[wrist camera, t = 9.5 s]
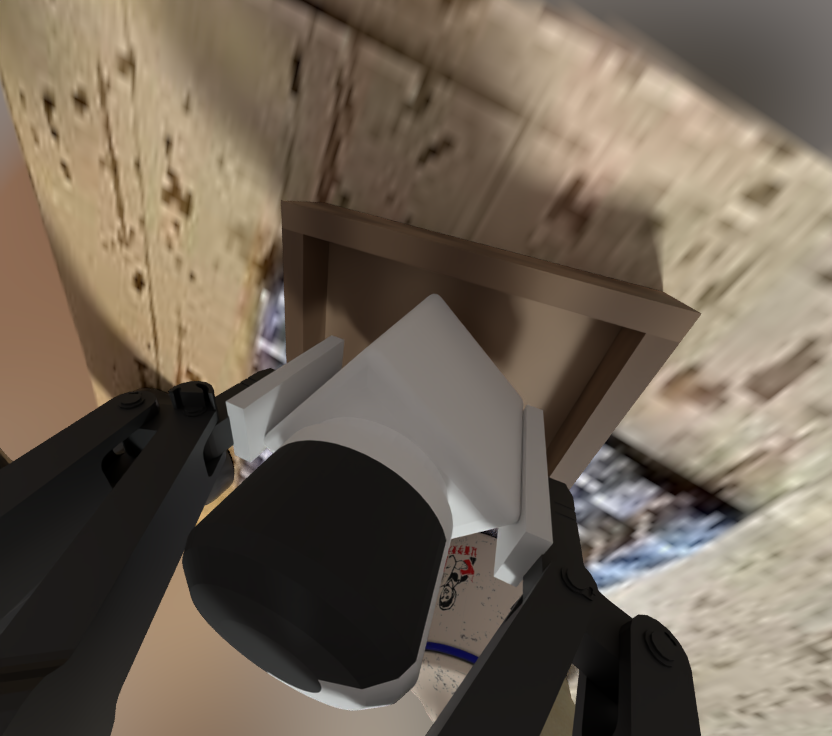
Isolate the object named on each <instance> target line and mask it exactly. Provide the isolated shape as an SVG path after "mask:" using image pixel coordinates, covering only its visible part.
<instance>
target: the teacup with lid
mask: <svg viewBox="0 0 832 736" xmlns="http://www.w3.org/2000/svg"><path fill="white" fill-rule="evenodd" d="M496 546H497V539H496V538H494V537H492V536H489V535H486V534H483V533H479V532H478V533H473V534H469V535H465V536H461V537H457V538H453V539H451V542H450V546H449V550H448V555H447V559H446V563H445V567H444V571H443V576H442V580H441V584H440V588H439V593H438V597H437V601H436V605H435V609H434V614H433V618H432V622H431V626H430V631H429V635H428V639H427V643H426V647H425V652H424V656H423V660H422V664H421V669H420V673H419V677H418V680H417V682H416V684H415V686H414V687H413V688H412V689H410V690H411V691H412V692H413V693H414V694H415V695H416V696H417V697H418V698H419V699H420V700H421V702H422V704H423V706H424V708H425V710H426V712H427V714H428V716H429V717H430V719H431V720H432V721H433V722H435V721H436V719H437V718H438V716H439V715H440V713H441V712H442V710H443V709H444V707H445V706H446V705H447V703H448V702H449V700H450V699H451V697H452V696H453V694H454V693H455V691H456V690H457V688H458V687H459V686H460V684H461V683H462V681H463V680H464V678H465V677H466V675H467V674H468V672H469V671H470V669H471V668H472V666H473V665H474V664H475V662H476V661H477V659H478V658H479V656H480V655H481V653H482V652H483V650H484V649H485V647H486V646H487V644H488V643H489V642H490V640H491V639H492V637H493V636H494V634H495V633H496V631H497V630H498V628H499V627H500V625H501V624H502V623H503V621H504V620H505V618H506V617H507V615H508V614H509V612H510V611H511V609H510V608H511V607H512V606H513V605H514V604H515V602H516V601H517V600H518V599H519V598H520V597H521V596H522V594H523V580H522V581H521V582H520V583H519V585H518V586H517V587H515V586H513V585H510V584H508V583H506V582H504V581H502V580H500V579H498V578H496V577H494V567H495V557H496Z"/></svg>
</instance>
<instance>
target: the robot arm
mask: <svg viewBox="0 0 832 736" xmlns="http://www.w3.org/2000/svg"><path fill="white" fill-rule="evenodd" d="M343 350H344V339H341V338H338V337H335V336H332V335H331V336H330V337H328V338H327V339H325V340H323V341H322V342H320V343H319V344H317V345H315V346H314V347H312V348H311V349H309V350H307V351H306V352H304V353H303V354H301V355H299V356H298V357H296V358H295V359H293V360H291V361H290V362H288V363H287V364H285V365H283V366H282V367H280V368H278V369H277V370H274V369H271V368H269V369H266V370H262V371H259V372H257V373H255V374H253V375H252V376H250V377H248V379H245V380H243V381H241V382H240V384H239V383H238V384H236V385H235V386H233V387H231V388H230V389H228V390H226V391H224V392H223V393H221V394H219V395H218V396H216V397H215V394H214V389H213V387H212V385H210V384H208V383H207V382H201V381H190V382H186V383H181V384H179V385H177V386H174V387H173V388H172V389H170V390H169V391H168V392H169V394H167V393H165V392H162V391H159V390H156V389H151V388H141V389H138V390H136V391H133V392H128V393H124V394H121V395H119V396H117V397H115V398H113V399H111V400H109V401H108V402H106V403H105V404H103V405H102V406H100V407H98V408H97V409H95V410H94V411H92V412H90V413H89V414H87V415H86V416H84V417H83V418H81V419H79V420H78V421H76V422H75V423H73V424H72V425H70V426H68V427H67V428H65V429H64V430H62V431H60V432H59V433H57V434H56V435H54V436H53V437H51V438H49V439H48V440H46V441H45V442H43V443H42V444H40V445H38V446H37V447H35V448H34V449H32V450H30V451H29V452H27V453H26V454H24V455H23V456H21V457H20V458H18V459H16V460H15V461H12V460H11V459H10V458H9V457H8V456H7V455H6V454H5V453H4V452H3V451H2V449H1V448H0V736H110V735H111V731H112V728H113V724H114V720H115V710H116V703H117V699H118V696H119V693H120V691H121V688H122V686H123V684H124V682H125V679H126V677H127V675H128V673H129V670H130V668H131V666H132V664H133V662H134V659H135V657H136V655H137V653H138V651H139V649H140V646H141V644H142V642H143V640H144V638H145V635H146V633H147V631H148V629H149V627H150V624H151V622H152V620H153V618H154V616H155V613H156V611H157V609H158V607H159V604H160V602H161V600H162V598H163V596H164V594H165V591H166V589H167V587H168V585H169V582H170V580H171V578H172V576H173V574H174V572H175V569H176V567H177V565H178V563H179V561H180V558H181V556H182V554H183V552H184V550H185V546H186V542H187V538H188V535H189V533H190V531H191V530H192V529H193V528H194V527H195V525H196V523H197V521H198V519H199V517H200V514H201V512H202V510H203V508H204V505H207V504H209V503H211V502H213V501H214V500H215V499H217V498H218V497H219V496H220V495H221V494H222V493H223V492H224V491H225V490H226V489H228V488H229V487H230V486H231V484H232V483H233V480H234V468H233V464H232V461H231V458H230V456H229V454H228V452H227V449H228V448H230V447H231V446H232V445H233V446H234V452H235V455H236V456H238V457H240V458H242V459H245V460H247V461H249V462H252V461H253V460H254V459H255V458H256V457H258V456H259V455H260V454H261V453H262V452H263V451H264V450H265V449H266V448H267V447H266V446H265V444H264V438H265V436H266V435H267V433H268V432H269V431H271V430H272V429H273V428H274V427H275V426H276V425H277V424H279V423H280V422H281V421H282V420H283V419H284V418H286V417H287V416H288V415H289V414H290V413H291V412H293V411H294V410H295V409H296V408H297V407H298V406H299V405H301V404H302V403H303V402H304V401H305V400H306V399H308V398H309V397H310V396H311V395H312V394H313V393H314V392H316V391H317V390H318V389H319V388H320V387H321V386H323V385H324V384H325V383H326V382H327V381H328V380H329V379H331V378H332V377H333V376H334V375H335V374H336V373H338V372H339V371H340V370H341V369H342V362H343ZM574 511H575V507H574V501H573V496H572V494H571V493H570V491H569V489H568V487H567V485H566V484H565V483H562V482H560V481H557V480H555V479H552V478H550V477H548V471H547V457H546V444H545V431H544V418H543V410H541V409H538V408H535V407H532V406H530V405H526V407H525V409H524V411H523V438H522V476H521V513H520V516H519V519H518V521H517V522H516V523H514V524H511V525H506V526H502V527H498V536H497V546H496V557H495V567H494V577H496V578H498V579H500V580H502V581H504V582H506V583H508V584H510V585H513V586H515V587H517V586H518V585H519V583H520V582H521V581H522V580H523V594H522V596H521V597H520V598H519V599H518V600H517V601H516V602H515V604H514V605H513V606H512V607H511V608H510V609H511V611H510V612H509V614H508V615H507V617H506V618H505V620H504V621H503V623H502V624H501V625H500V627H499V628H498V630H497V631H496V633H495V634H494V636H493V637H492V639H491V640H490V642H489V643H488V644H487V646H486V647H485V649H484V650H483V652H482V653H481V655H480V656H479V658H478V659H477V661H476V662H475V664H474V665H473V666H472V668H471V669H470V671H469V672H468V674H467V675H466V677H465V678H464V680H463V681H462V683H461V684H460V686H459V687H458V688H457V690H456V691H455V693H454V694H453V696H452V697H451V699H450V700H449V702H448V703H447V705H446V706H445V707H444V709H443V710H442V712H441V713H440V715H439V716H438V718H437V719H436V721H435V722H434V724H433V725H432V727H431V728H430V730H429V731H428V732H427V734H426V735H425V736H540V734H541V732H542V730H543V727H544V725H545V723H546V720H547V718H548V716H549V714H550V711H551V709H552V707H553V705H554V702H555V700H556V698H557V695H558V693H559V691H560V689H561V686H562V684H563V682H564V680H565V677H566V675H567V673H568V670H569V668H570V666H571V664H574V665H575V666H576V667H577V668H578V669H579V678H578V687H577V696H576V705H575V713H574V722H573V731H572V736H701V732H700V725H699V718H698V712H697V705H696V698H695V691H694V684H693V677H692V670H691V667H690V664H689V660H688V657H687V655H686V653H685V652H684V650H683V648H682V646H681V645H680V643H679V642H678V640H677V639H676V638H675V637H674V636H673V634H672V633H671V632H670V631H669V630H668V629H667V628H666V627H665V626H663V625H662V624H661V623H660V622H659V621H657V620H655V619H653V618H651V617H650V616H648V615H637V616H636V617H634V618H631V617H630V616H629V615H627V614H626V613H625V612H623V611H622V610H621V609H620V608H618V607H617V606H616V605H614V604H613V603H612V602H611V601H609V600H608V599H607V598H606V597H605V596H604V595H602V594H601V593H600V592H599V590H598V588H597V584H596V582H595V581H594V579H593V577H592V575H591V574H590V572H589V571H588V570H587V569H586V568H585V567H584V563H583V558H582V551H581V545H580V539H579V532H578V526H577V523H576V513H575V512H574Z"/></svg>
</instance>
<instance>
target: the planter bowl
mask: <svg viewBox="0 0 832 736" xmlns="http://www.w3.org/2000/svg"><path fill="white" fill-rule="evenodd" d="M574 713H575V704H574V702H573V700H572V698H571V694H570V689H569V685H568V682H567V680H566V678H565V680H564V682H563V684H562V686H561V689H560V691H559V693H558V695H557V698H556V700H555V702H554V705H553V707H552V709H551V711H550V714H549V716H548V718H547V720H546V723H545V725H544V727H543V730H542V732H541V734H540V736H572V731H573V722H574Z"/></svg>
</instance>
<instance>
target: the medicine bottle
mask: <svg viewBox="0 0 832 736" xmlns="http://www.w3.org/2000/svg"><path fill="white" fill-rule="evenodd" d="M522 438H523V400H522V398H521V397H520V395H519V394H518V393H517V392H516V390H515V389H514V388H513V387H512V385H511V384H510V383H509V382H508V380H507V379H506V378H505V377H504V375H503V374H502V373H501V372H500V370H499V369H498V368H497V367H496V365H495V364H494V363H493V362H492V360H491V359H490V358H489V357H488V355H487V354H486V353H485V351H484V350H483V349H482V348H481V346H480V345H479V344H478V343H477V341H476V340H475V339H474V338H473V336H472V335H471V334H470V333H469V331H468V330H467V329H466V328H465V326H464V325H463V324H462V323H461V321H460V320H459V319H458V318H457V316H456V315H455V314H454V313H453V311H452V310H451V309H450V308H449V306H448V305H447V304H446V303H445V301H444V300H443V299H442V298H441V296H439V295H438V294H431V295H429V296H428V297H427V298H426V299H424V300H423V301H422V302H421V303H420V304H418V305H417V306H416V307H415V308H414V309H412V310H411V311H410V312H409V313H408V314H406V315H405V316H404V317H403V318H402V319H400V320H399V321H398V322H397V323H395V324H394V325H393V326H392V327H391V328H389V329H388V330H387V331H386V332H385V333H383V334H382V335H381V336H380V337H379V338H377V339H376V340H375V341H374V342H373V343H371V344H370V345H369V346H368V347H367V348H365V349H364V350H363V351H362V352H361V353H360V354H358V355H357V356H356V357H355V358H354V359H353V360H351V361H350V362H349V363H348V364H347V365H346V366H344V367H343V368H342V369H341V370H340V371H339V372H338V373H336V374H335V375H334V376H333V377H332V378H331V379H329V380H328V381H327V382H326V383H325V384H324V385H323V386H321V387H320V388H319V389H318V390H317V391H316V392H314V393H313V394H312V395H311V396H310V397H309V398H308V399H306V400H305V401H304V402H303V403H302V404H301V405H299V406H298V407H297V408H296V409H295V410H294V411H293V412H291V413H290V414H289V415H288V416H287V417H286V418H284V419H283V420H282V421H281V422H280V423H279V424H277V425H276V426H275V427H274V428H273V429H272V430H271V431H269V432H268V433H267V435H266V436H265V438H264V444H265V446H266V447H267V448H268V449H269V450H270V451H271V452H272V453H273V454H272V455H271V456H270V457H269V458H268V459H267V460H266V461H265V462H263V463H262V464H261V465H260V466H259V467H258V468H257V469H256V470H255V471H254V472H253V473H252V474H251V475H250V476H249V477H248V478H246V479H245V480H244V481H243V482H242V483H241V484H240V485H239V486H238V487H237V488H236V489H235V490H234V491H233V492H232V493H230V494H229V495H228V496H227V497H226V498H225V499H224V500H223V501H222V502H221V503H220V504H219V505H218V506H217V507H216V508H215V509H213V510H212V511H211V512H210V513H209V514H208V515H207V516H206V517H205V518H204V519H203V520H202V521H201V522H200V523H199V524H198V525H196V526H195V527H194V528H193V529H192V530H191V531H190V533H189V535H188V538H187V542H186V546H185V550H184V553H183V559H182V564H183V569H184V573H185V576H186V580H187V584H188V587H189V591H190V595H191V598H192V601H193V603H194V605H195V607H196V608H197V610H198V611H199V613H200V614H201V615H202V617H203V618H204V619H205V620H206V621H207V622H208V624H209V625H210V626H211V627H212V628H213V629H214V630H215V631H216V632H217V633H218V634H219V635H220V636H221V637H222V638H223V639H225V640H226V641H227V642H228V643H229V644H230V645H231V646H233V647H234V648H235V649H236V650H237V651H239V652H240V653H241V654H242V655H244V656H245V657H246V658H247V659H249V660H250V661H252V662H253V663H254V664H256V665H257V666H258V667H260V668H261V669H263V670H264V671H266V672H267V673H269V674H270V675H272V676H274V677H275V678H277V679H278V680H280V681H281V682H283V683H285V684H286V685H288V686H290V687H292V688H293V689H295V690H297V691H299V692H301V693H303V694H305V695H307V696H309V697H311V698H313V699H315V700H317V701H320V702H323V703H325V704H327V705H331V706H333V707H336V708H340V709H344V710H352V711H353V710H363V709H369V708H376V707H382V706H388V705H392V704H394V703H396V702H397V701H398V700H399V699H401V698H402V697H403V696H404V695H405V694H406V693H407V692H408V691H409V690H410V689H412V688H413V687H414V686H415V684H416V682H417V680H418V677H419V673H420V669H421V664H422V660H423V656H424V652H425V647H426V643H427V639H428V635H429V631H430V626H431V622H432V618H433V614H434V609H435V605H436V601H437V597H438V593H439V588H440V584H441V580H442V576H443V571H444V567H445V563H446V559H447V555H448V550H449V546H450V542H451V539H453V538H457V537H461V536H465V535H469V534H473V533H478V532H482V531H486V530H490V529H494V528H498V527H502V526H506V525H511V524H514V523H516V522H517V521H518V519H519V516H520V513H521V476H522Z"/></svg>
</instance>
